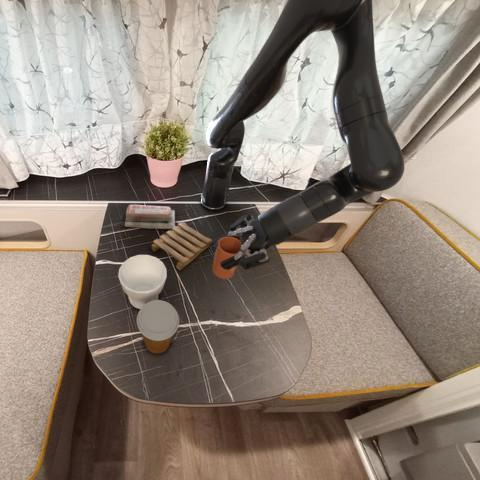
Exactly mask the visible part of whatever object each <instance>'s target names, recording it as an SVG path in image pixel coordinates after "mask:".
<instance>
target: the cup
mask: <svg viewBox="0 0 480 480" xmlns="http://www.w3.org/2000/svg"><path fill="white" fill-rule="evenodd" d="M167 270H168V269H167V267H166V265H165V264H164V262H163V261H162V260H160V259H159V258H158V257H156V256H153V255H150V254H136V255H134V256H131V257H128V259H126V260H124V261H123V262H122V264H121V265H120V266H119V269H118V275H117V277H118V280H119V282H120V286H121V288H122V289H123V292H124V293H125V294H126V295H127V298H128V301H129V304H130V305H131V306H133V307H134V308H136V309H139V310H140V309H141V308H142V307H143V306H144V305H145V304H147V303H148V302H150V301H154V300H159V294H160V293H162V292H163V291H162V290H163V289H164V286H165V284H166V281H167V276H168V275H167V274H168V273H167Z"/></svg>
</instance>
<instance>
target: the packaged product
mask: <svg viewBox="0 0 480 480" xmlns="http://www.w3.org/2000/svg"><path fill="white" fill-rule="evenodd" d="M174 226H176V210H175V209H172V208H171V206H163V205H162V206H161V205H143V204H129V205H128V206H127V208H126V209H125V220H124V227H126V228H127V227H128V228H139V229H141V228H142V229H150V230H151V229H152V230H153V229H154V230H155V229H161V230H162V229H163V230H172V228H173V227H174Z"/></svg>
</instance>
